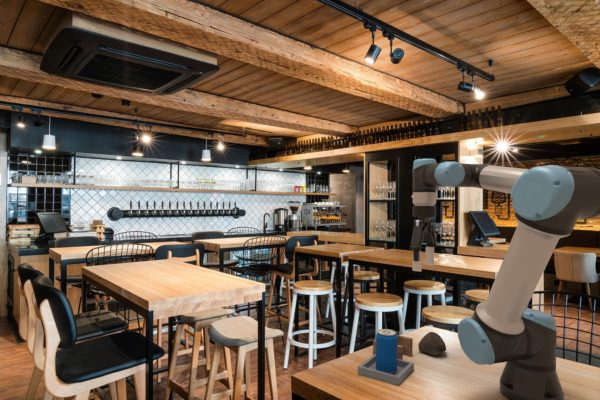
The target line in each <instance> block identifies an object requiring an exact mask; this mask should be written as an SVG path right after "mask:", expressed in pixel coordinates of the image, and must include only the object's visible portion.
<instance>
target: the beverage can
mask: <svg viewBox="0 0 600 400" xmlns="http://www.w3.org/2000/svg"><path fill="white" fill-rule="evenodd" d="M397 335H398V334H397V332H396V331H395V330H394V329H388V328H382V329H378V330H377V332H376V334H375V340H376V369H377V370H378V371H381V372H385V373H389V374H393V373H394V372H396V371H397Z"/></svg>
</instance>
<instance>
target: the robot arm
mask: <svg viewBox="0 0 600 400" xmlns="http://www.w3.org/2000/svg"><path fill="white" fill-rule="evenodd" d="M412 163H413V165H412V166H413V167H412V195H411V196H410V197H411V199H412V204H413V206H412V217H414V218H415V217H416V218H417V219H414V220H413V228H412V233H411V241H410V246H409V251H412V271H413V272H422V270H423V269H422V267H423V266H422V263H423V261H422V259H423V257H422V255H423V254H422V253H423V251H422V246H423V242H424V241H425V244H426V246H425V266H430V267H434V266H435V248H437V246H438V244H437V238H436V231H435V226H434V221H435V220H434V218H435V217H436V216H437V207H436V204H437V188H444V187H446V188H449V187H450V188H451V187H453V188H477V189H482V190H483V189H484V190H489V191H494V192H499V193H504V194H510V199H511V200H512V202H511V206H512V208H513V210H514V211H515V212H514V215H513V217H514V219H515V221H516V222H517V226H516V227H515V228H516V229H515V231H514V233H513V235H512V238H511V241H510V243H509V245H508V246H507V247H508V248H507V250H506V252H505V255H504V257H503V260H502V262H501V264H500V266H499V270H498V272H497V274H496V276H495V278H494V282H493V283H492V287H491V289H490V291H489V293H488V295H487V298H486V299H485V301H482V302H480V303H478V304H477V305H476V307H475V310H474V312H473V315H472V316H471V317H465V318H462V319H461V320H460V321H459V323H458V326H457V338H458V340H459V345H460V347H461V349H462V351H463V352H464V354H465V356H466V357H467V358H468V359H469V360H470V362H473V363H475V364H477V365H480V366H482V365H486V366H487V365H488V366H492V365H494V364H501V363H505V365H504V368H503V370H502V373H501V376H500V378H499V390H500V392H501V394H502V395H503V396H504V397H506V398H508V399H510V400H565V397H564V394H565V393H564V390H563V388H562V384H561V381H560V379H559V376H558V373H557V333H558V330H557V320H556V318H555V317H554V316H553V315H552V314H551V313H547V312H545V311H541V310H538V309H533V308H529V307H528V305H529V303H530V301H531V299H532V297H533V295H534V293H535V290H536V288H537V287H538V285H539V282H540V280H541V278H542V277H543V276H542V275H543V274H544V272H545V270H546V268H547V266H548V264H549V261H550V260H551V257H552V255H553V253H554V251H555V249H556V247H557V244H558V243H559V240H560V239H561V238H566V237H568V236H570V235H571V234H572V233H573V230H574V228H575V226H576V224H577V222H578V220H591V219H596V218H598V217H600V169H598V168H595V167H581V166H563V165H562V166H561V165H557V164H555V165H554V164H548V165H543V166H541V165H540V166H538V165H537V166H534V167H531V168H530V169H528V168H522V167H521V168H518V167H511V166H510V167H508V166H499V165H492V164H488V163H461V162H458V161H443V162H438V163H437V160H436V159H435V158H418V159H415V160H413V162H412Z"/></svg>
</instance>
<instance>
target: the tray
mask: <svg viewBox="0 0 600 400" xmlns="http://www.w3.org/2000/svg"><path fill="white" fill-rule="evenodd" d="M414 371H415V362H412V361H408V360H404V359H403V360H401V359H397V371H396V372H394V373H393V374H389V373H385V372H381V371H378V370H377V369H376V353H375V354H374V355H373V354H372V355H371V356H370V357H369V358H367V359H366V360H364V361H363V362H362V363H360V364H359V365H358V366H357V376H361V377H364V378H368V379H372V380H375V381H379V382H383V383H386V384H390V385H394V386H396V387H397V386H398V387H399V386H400V385H402V383H403V382H404V381H406V379H408V377H409V376H410V375H411V374H412V373H413V372H414Z"/></svg>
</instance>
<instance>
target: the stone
mask: <svg viewBox="0 0 600 400" xmlns="http://www.w3.org/2000/svg"><path fill="white" fill-rule="evenodd" d="M417 347H418V350H419V352H420V353H426V354H429V355H432V356H438V355H439V354H442V353H444V352H445V351H447V345H446V343H445V341H444V339H443V338H442V336H440V334H438V333H437V332H434V331H429V332H427V333H426V334H425V335H424V336H423V337H422V338H421V339H420V341H419V342H418V345H417Z"/></svg>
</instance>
